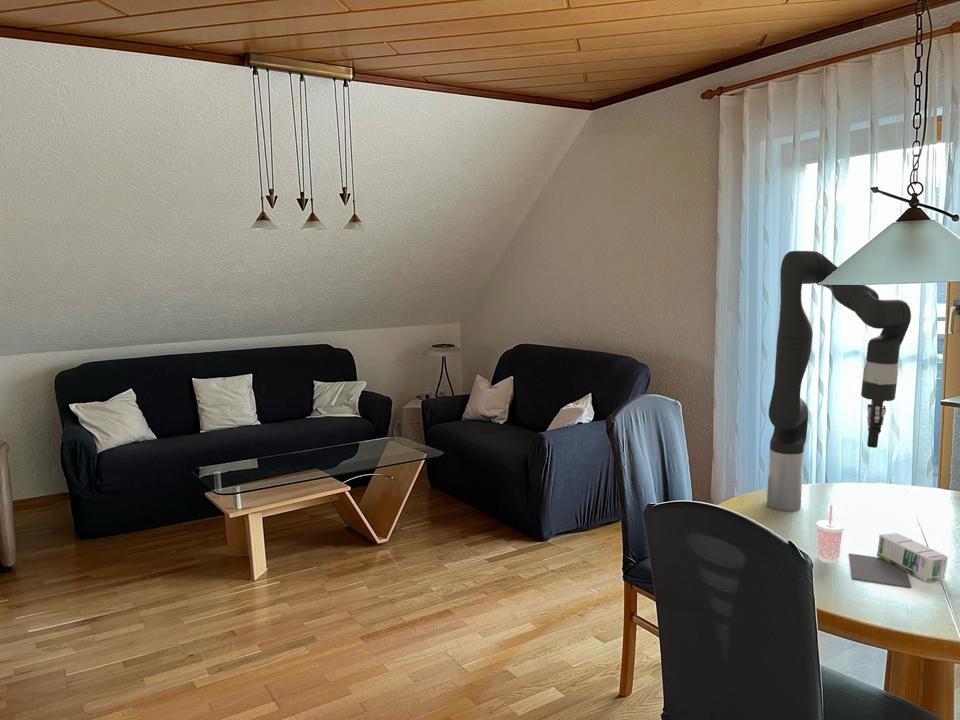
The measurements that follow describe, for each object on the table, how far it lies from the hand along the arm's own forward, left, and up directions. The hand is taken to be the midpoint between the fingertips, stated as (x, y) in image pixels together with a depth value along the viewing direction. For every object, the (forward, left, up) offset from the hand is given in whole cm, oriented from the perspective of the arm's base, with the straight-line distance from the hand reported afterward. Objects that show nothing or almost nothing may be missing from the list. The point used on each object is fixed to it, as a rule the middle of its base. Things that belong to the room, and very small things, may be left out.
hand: (872, 446), depth 186 cm
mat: (+2, -15, -26) cm, 31 cm away
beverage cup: (-9, -13, -27) cm, 31 cm away
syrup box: (+4, -6, -23) cm, 24 cm away
